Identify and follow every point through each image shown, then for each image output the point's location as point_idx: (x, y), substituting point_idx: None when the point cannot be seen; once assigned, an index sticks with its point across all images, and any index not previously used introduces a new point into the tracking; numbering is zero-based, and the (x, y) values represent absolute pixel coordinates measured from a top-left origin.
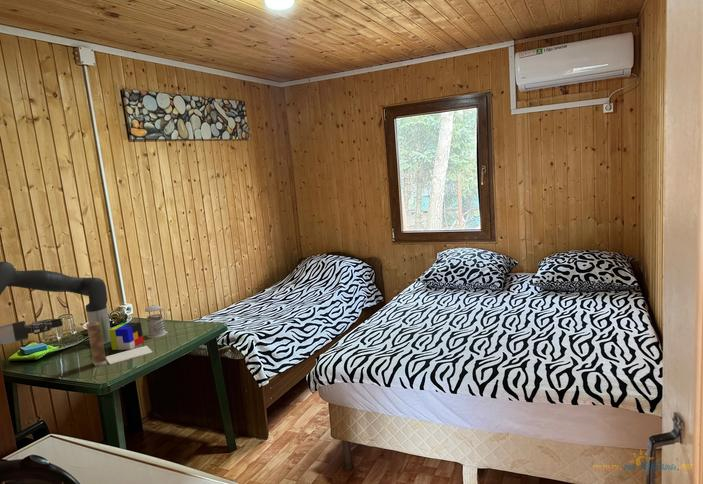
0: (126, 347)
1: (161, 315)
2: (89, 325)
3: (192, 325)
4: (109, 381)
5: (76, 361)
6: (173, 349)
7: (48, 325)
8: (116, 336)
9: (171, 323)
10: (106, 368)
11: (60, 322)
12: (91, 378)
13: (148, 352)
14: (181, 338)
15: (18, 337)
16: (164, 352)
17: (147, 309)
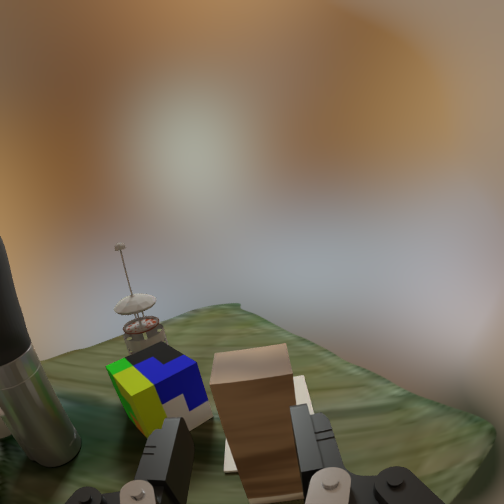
0: (201, 418)
1: (152, 316)
2: (264, 372)
3: (174, 327)
4: (482, 426)
5: None
6: (315, 348)
7: (410, 479)
8: (163, 404)
9: (113, 345)
10: (358, 464)
11: (322, 415)
12: (435, 484)
13: (299, 382)
14: (244, 340)
15: None
16: (323, 359)
17: (135, 306)
